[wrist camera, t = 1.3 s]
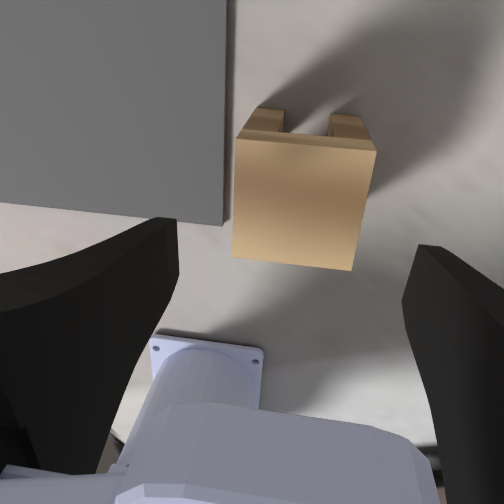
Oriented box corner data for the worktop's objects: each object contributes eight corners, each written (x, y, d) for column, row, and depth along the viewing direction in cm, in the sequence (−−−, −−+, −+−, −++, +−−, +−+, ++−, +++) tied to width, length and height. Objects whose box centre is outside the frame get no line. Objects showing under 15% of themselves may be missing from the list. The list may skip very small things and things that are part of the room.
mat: (223, 223, 23) (222, 226, 23) (-4, 198, 24) (-9, 201, 24) (229, -93, 16) (228, -96, 15) (-93, -106, 17) (-102, -108, 17)
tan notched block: (342, 211, 22) (351, 270, 16) (250, 202, 22) (231, 257, 17) (359, 116, 19) (376, 151, 14) (256, 107, 20) (235, 138, 14)
